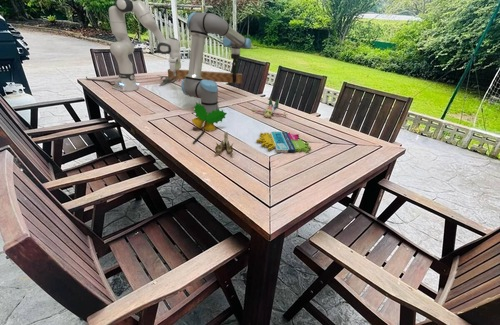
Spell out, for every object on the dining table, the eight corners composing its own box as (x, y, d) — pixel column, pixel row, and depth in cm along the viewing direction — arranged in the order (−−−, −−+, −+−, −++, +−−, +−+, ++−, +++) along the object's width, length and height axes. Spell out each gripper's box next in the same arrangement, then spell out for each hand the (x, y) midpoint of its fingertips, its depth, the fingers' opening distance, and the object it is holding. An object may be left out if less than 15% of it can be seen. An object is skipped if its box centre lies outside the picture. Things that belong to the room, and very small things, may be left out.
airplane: (151, 78, 274) (150, 68, 269) (181, 76, 288) (180, 67, 282) (158, 87, 246) (157, 77, 241) (191, 85, 259) (191, 75, 254)
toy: (291, 100, 208) (287, 111, 182) (290, 109, 211) (286, 120, 185) (257, 96, 213) (248, 105, 187) (256, 105, 216) (248, 115, 190)
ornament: (218, 133, 171) (224, 110, 169) (221, 134, 163) (227, 111, 161) (186, 125, 162) (192, 101, 160) (189, 126, 155) (195, 101, 153)
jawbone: (234, 135, 144) (233, 125, 135) (233, 160, 138) (232, 151, 129) (217, 135, 144) (216, 125, 135) (216, 160, 138) (214, 150, 129)
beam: (242, 82, 234) (242, 73, 230) (241, 83, 229) (241, 74, 226) (170, 77, 235) (169, 68, 231) (168, 78, 230) (167, 69, 226)
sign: (313, 150, 142) (258, 149, 139) (312, 153, 143) (258, 152, 140) (301, 132, 164) (254, 130, 161) (301, 134, 165) (254, 133, 162)
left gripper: (175, 56, 233) (176, 72, 240) (167, 60, 215) (169, 77, 222) (182, 57, 233) (183, 73, 240) (175, 60, 215) (176, 77, 222)
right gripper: (232, 52, 228) (231, 79, 240) (229, 54, 212) (229, 83, 223) (240, 52, 228) (239, 79, 239) (239, 55, 212) (237, 84, 223)
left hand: (176, 75), depth 231 cm, fingers closed on beam, 5 cm apart
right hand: (234, 81), depth 231 cm, fingers closed on beam, 5 cm apart
